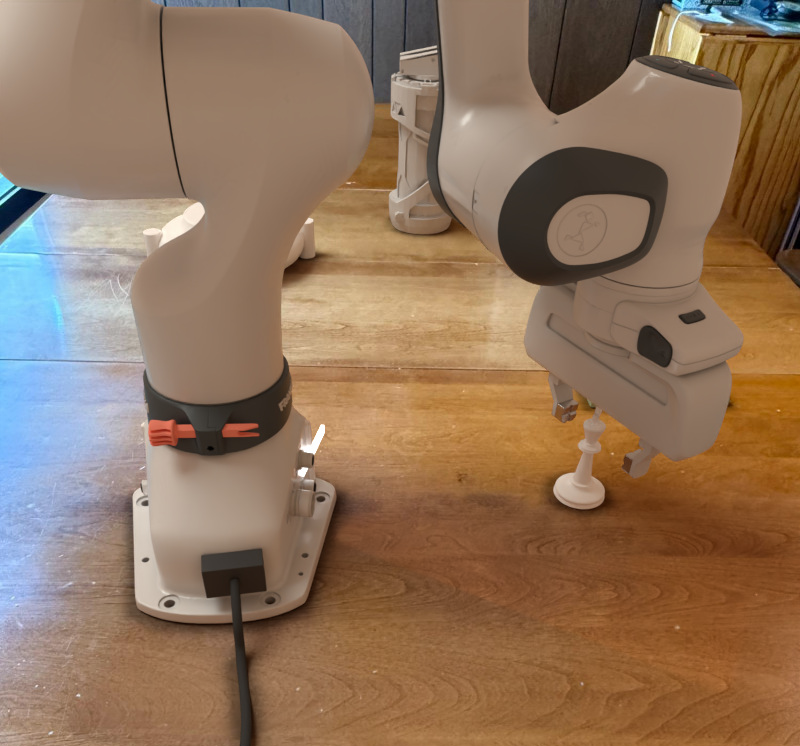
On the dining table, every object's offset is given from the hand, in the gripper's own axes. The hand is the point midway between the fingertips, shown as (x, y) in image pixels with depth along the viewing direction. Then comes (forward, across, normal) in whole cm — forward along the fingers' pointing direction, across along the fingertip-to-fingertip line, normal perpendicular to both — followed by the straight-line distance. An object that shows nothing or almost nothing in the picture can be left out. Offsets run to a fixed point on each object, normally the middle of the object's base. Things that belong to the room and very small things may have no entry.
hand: (596, 444), depth 70 cm
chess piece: (+7, -1, +1) cm, 7 cm away
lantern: (+8, -67, +25) cm, 72 cm away
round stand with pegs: (+7, -68, -8) cm, 69 cm away
